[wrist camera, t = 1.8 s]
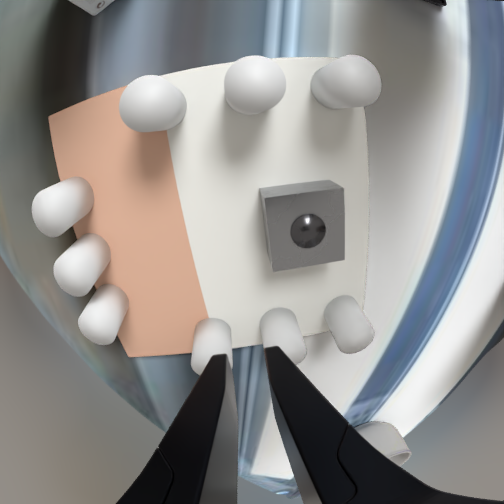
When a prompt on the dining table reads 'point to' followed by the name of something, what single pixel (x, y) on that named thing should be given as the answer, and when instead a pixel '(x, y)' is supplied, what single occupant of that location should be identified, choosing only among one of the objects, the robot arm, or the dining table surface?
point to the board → (211, 206)
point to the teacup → (386, 440)
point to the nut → (304, 224)
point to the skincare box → (92, 5)
